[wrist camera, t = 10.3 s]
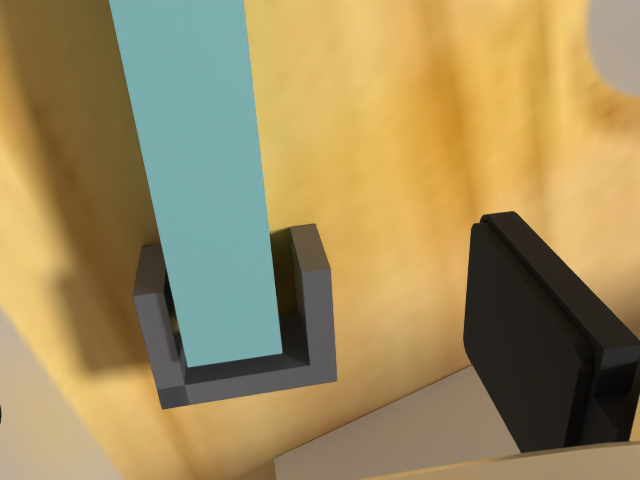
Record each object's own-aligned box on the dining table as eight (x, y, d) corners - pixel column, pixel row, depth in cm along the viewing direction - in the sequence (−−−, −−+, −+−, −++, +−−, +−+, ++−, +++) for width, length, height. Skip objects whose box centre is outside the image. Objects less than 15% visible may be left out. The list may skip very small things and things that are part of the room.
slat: (205, -286, 19) (205, -339, 15) (271, 288, 30) (282, 353, 26) (75, -282, 19) (36, -336, 14) (190, 299, 30) (187, 367, 25)
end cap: (315, 223, 28) (330, 268, 25) (322, 328, 31) (337, 381, 28) (141, 246, 27) (132, 296, 24) (166, 352, 31) (162, 409, 27)
